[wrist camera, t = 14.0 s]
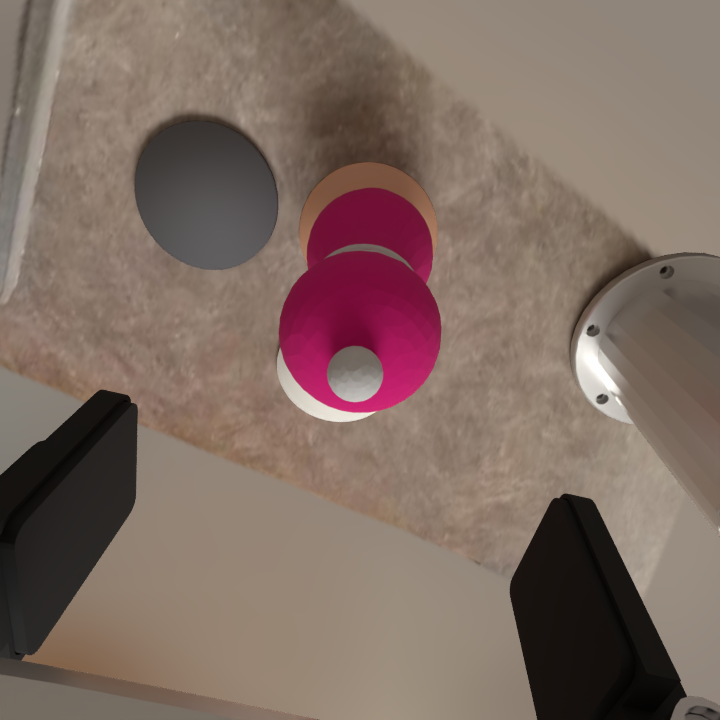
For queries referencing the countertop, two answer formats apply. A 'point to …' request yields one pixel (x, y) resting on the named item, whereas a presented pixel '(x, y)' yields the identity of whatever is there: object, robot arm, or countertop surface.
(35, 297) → the countertop surface
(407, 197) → the peach oval dome
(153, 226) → the dark gray oval dome
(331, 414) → the cream oval dome
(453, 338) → the countertop surface
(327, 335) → the pepper mill
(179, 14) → the countertop surface
